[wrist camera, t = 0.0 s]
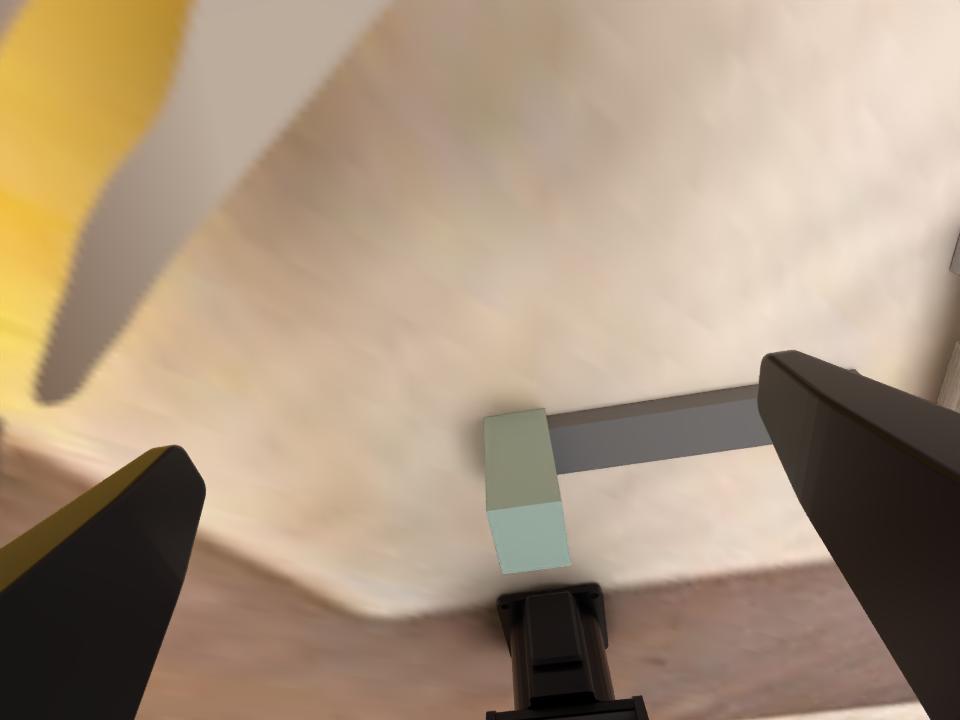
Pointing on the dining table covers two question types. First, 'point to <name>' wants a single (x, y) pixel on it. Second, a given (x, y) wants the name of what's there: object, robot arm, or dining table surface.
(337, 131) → the dining table surface
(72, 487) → the dining table surface
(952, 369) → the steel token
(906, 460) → the robot arm
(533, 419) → the grey piece
